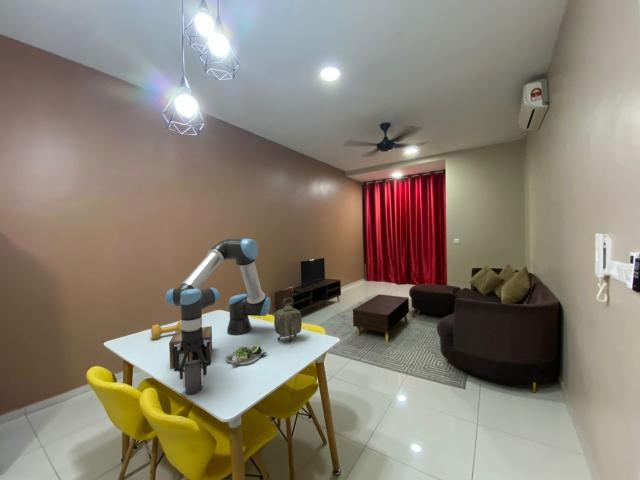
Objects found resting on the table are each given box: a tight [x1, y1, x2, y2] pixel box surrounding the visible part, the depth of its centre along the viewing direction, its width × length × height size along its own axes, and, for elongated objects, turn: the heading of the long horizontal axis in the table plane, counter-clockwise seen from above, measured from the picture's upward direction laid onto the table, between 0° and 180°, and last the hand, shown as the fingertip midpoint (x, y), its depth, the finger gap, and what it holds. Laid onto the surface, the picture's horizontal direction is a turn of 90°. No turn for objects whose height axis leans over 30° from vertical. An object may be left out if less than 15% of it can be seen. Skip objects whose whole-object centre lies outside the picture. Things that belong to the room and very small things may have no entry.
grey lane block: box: [179, 349, 189, 365], centre depth 129 cm, size 5×6×5 cm
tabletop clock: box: [273, 297, 303, 342], centre depth 152 cm, size 14×9×25 cm, turn 122°
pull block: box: [184, 359, 203, 396], centre depth 111 cm, size 6×19×11 cm, turn 19°
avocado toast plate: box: [225, 344, 267, 367], centre depth 131 cm, size 19×18×5 cm
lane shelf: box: [168, 326, 213, 369], centre depth 133 cm, size 18×16×12 cm
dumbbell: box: [150, 319, 182, 340], centre depth 163 cm, size 19×9×8 cm, turn 121°
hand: (193, 384), depth 105 cm, fingers closed on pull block, 6 cm apart
